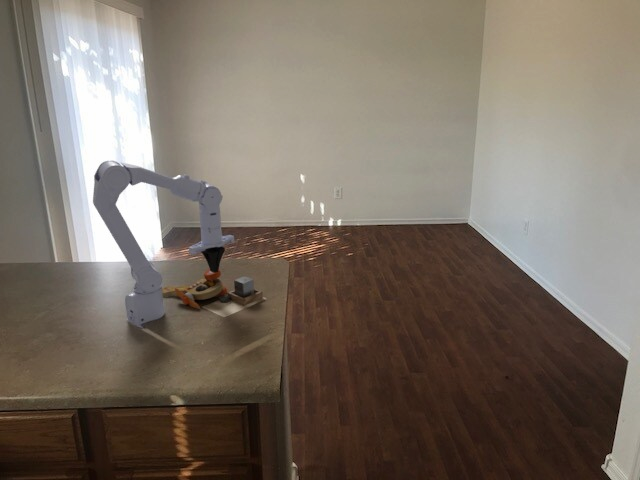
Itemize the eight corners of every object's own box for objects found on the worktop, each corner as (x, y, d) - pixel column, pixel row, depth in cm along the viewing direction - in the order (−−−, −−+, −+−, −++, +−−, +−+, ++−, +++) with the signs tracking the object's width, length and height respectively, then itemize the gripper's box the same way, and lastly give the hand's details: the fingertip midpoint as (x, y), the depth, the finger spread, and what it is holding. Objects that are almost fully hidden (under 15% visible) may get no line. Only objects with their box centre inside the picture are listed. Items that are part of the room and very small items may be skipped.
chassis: (224, 320, 140) (223, 310, 139) (202, 310, 146) (201, 300, 145) (267, 301, 151) (266, 292, 150) (244, 292, 157) (244, 283, 156)
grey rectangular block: (244, 302, 148) (243, 283, 146) (235, 298, 151) (234, 280, 149) (254, 298, 151) (253, 279, 149) (245, 294, 154) (244, 276, 152)
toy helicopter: (233, 289, 156) (214, 315, 144) (175, 294, 162) (152, 319, 151) (225, 266, 152) (205, 291, 141) (166, 272, 159) (142, 296, 147)
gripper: (198, 235, 136) (202, 282, 140) (239, 223, 146) (242, 267, 150) (182, 230, 140) (187, 276, 144) (224, 219, 151) (227, 262, 155)
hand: (214, 271), depth 148 cm, fingers closed
